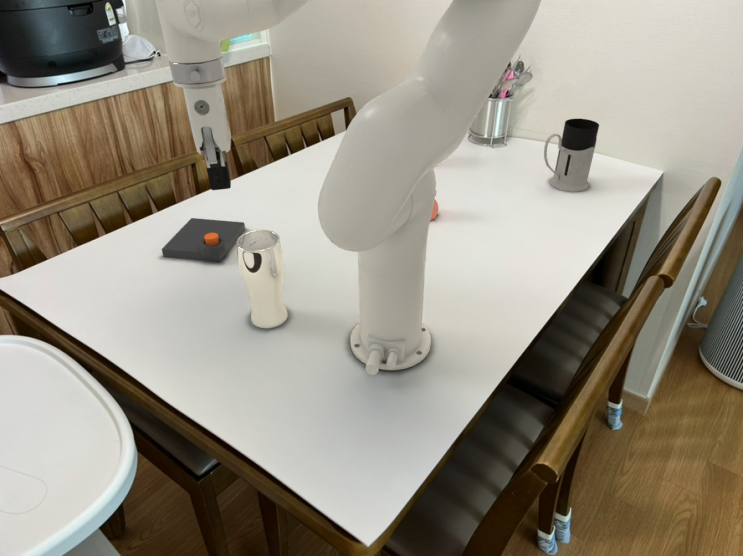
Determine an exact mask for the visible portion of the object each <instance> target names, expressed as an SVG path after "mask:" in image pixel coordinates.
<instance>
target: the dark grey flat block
mask: <svg viewBox="0 0 743 556" xmlns="http://www.w3.org/2000/svg"><path fill="white" fill-rule="evenodd" d="M245 231H246V224H245V222H243V221H233V220H231V221H230V220H229V221H228V220H220V219H210V218H209V219H207V218H197V217H191V218H190V219H189V220H188V221H187V222H186V223H185V224H184V225H183V226H182V227H181V228H180V229H179V230H178V231H177V232H176V234H174V235H173V237H171V239H170V240H169V241H168V242H166V244H165V245H164V246H163V247H162V248H161V252H162V256H163V258H171V259H181V260H192V261H202V262H213V263H222V261H223V260H224V259H225V257H226V256H227V255H228V254H229V252H230V251H231V250H232V248H233V247H234V246H235V244H236V242H237V239H238V238H239V237H240V236H241V235H243V234H244V233H245ZM208 233H217V234H218V237H219V243H218V244H216V245H212V246H210V245H206V243H205V238H204V236H205V235H206V234H208Z"/></svg>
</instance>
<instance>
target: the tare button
mask: <svg viewBox="0 0 743 556" xmlns="http://www.w3.org/2000/svg"><path fill="white" fill-rule="evenodd" d="M204 238H205V243H206V245H210V246H212V245H216V244H218V243H219V237H218V234H217V233H208V234H206V235H205V236H204Z"/></svg>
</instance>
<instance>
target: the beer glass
mask: <svg viewBox="0 0 743 556" xmlns="http://www.w3.org/2000/svg"><path fill="white" fill-rule="evenodd" d="M235 244H236V252H237V262H238V268H239V274H240V276H241V279H242V283H243V285H244V287H245V290H246V293H247V296H248V298H249V300H250V309H251V310H250V320H251V323H252V325H253V326H256V327H257V328H259V329H273V328H277V327H279V326H281V325H283V324H284V323H285V322H286V321H287V319H288V314H289V313H288V309H287V307H286V305H285V302H284V285H285V269H286V268H285V258H284V253H283V247H282V243H281V237H280V235H279V234H278V233H277V232H275V231H273V230H270V229H254V230H250V231H247V232H243V234H242V235H241V236H240V237H239V238H238V239H237V242H236V243H235Z"/></svg>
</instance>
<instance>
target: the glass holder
mask: <svg viewBox="0 0 743 556" xmlns="http://www.w3.org/2000/svg"><path fill="white" fill-rule="evenodd" d="M599 129H600V124H599V123H598V122H597V121H595V120H591V119H586V118H570V119H569V118H568V119H567V120H565V121H564V125H563V131H562V135H560V134H558V133H552V134H550V135H549V136H548V137H547V139H546V141H545V143H544V148H543V159H544V163H545V166H546V167H547V168H548V169H549V170H550V171H551V172H552V173H553V177H552V178H551V179H550V184H551V185H552V187H554V188H555V189H557V190H561V191H564V192H573V193H574V192H575V193H576V192H582V191H583V192H584V191H586V190H587V189H588V188H589V183H588V180H589V176H590V171H591V166H592V162H593V158H594V154H595V149H596V145H597V140H598V133H599ZM554 137H557V138H558V145H557V146H558V147H557V149H558V153H557V158H556V163H555V168H554V169H553V168H552V167H551V165H550V164H549V161H548V146H549V143H550V141H551V140H552V139H553V138H554Z"/></svg>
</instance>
